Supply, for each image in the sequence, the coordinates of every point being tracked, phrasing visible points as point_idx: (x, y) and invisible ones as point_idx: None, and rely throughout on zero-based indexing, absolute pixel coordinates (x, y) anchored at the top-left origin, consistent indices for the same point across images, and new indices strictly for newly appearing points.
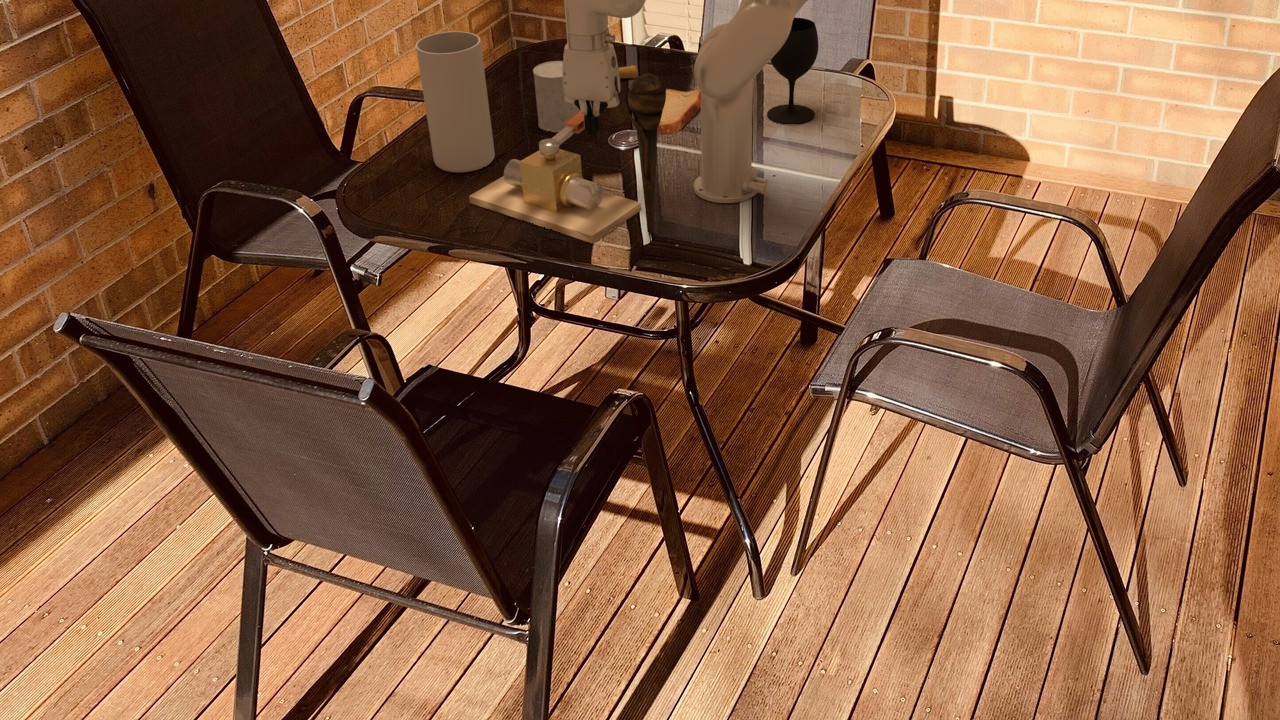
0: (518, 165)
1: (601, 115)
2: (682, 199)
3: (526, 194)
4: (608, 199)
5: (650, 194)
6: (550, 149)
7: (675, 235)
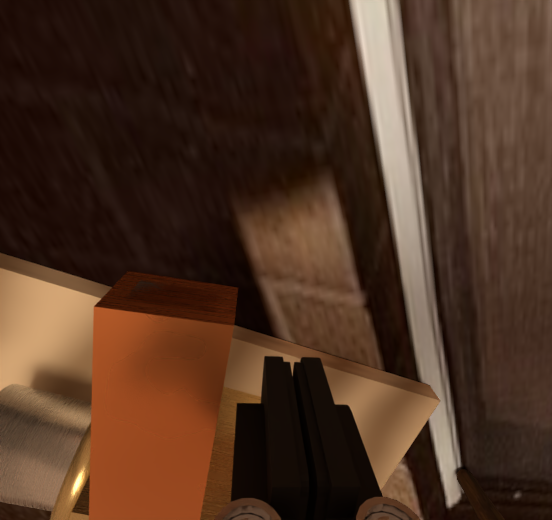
0: (8, 501)
1: (377, 489)
2: (538, 312)
3: None
4: (345, 401)
5: None
6: None
7: (515, 465)
